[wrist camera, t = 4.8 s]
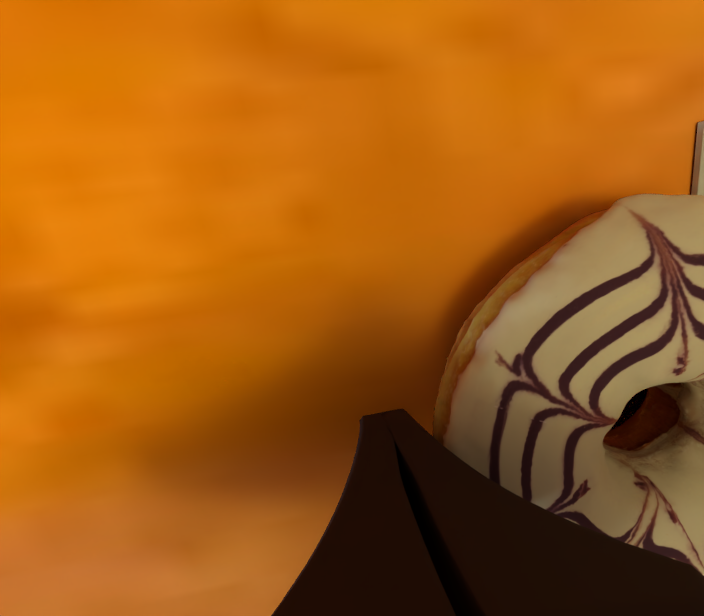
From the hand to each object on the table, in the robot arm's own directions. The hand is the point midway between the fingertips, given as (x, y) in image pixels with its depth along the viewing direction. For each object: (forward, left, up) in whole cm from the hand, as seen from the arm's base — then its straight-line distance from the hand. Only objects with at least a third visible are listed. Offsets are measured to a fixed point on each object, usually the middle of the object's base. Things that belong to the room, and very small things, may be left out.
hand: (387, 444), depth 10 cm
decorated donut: (0, -7, -2) cm, 7 cm away
